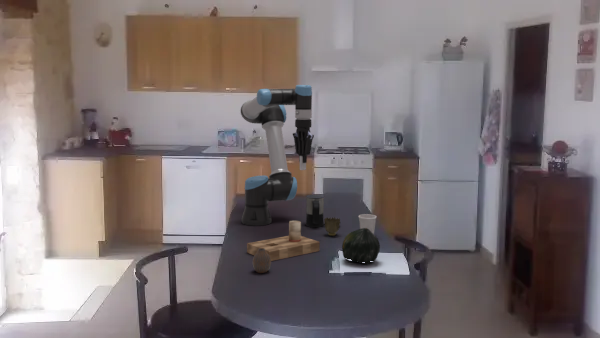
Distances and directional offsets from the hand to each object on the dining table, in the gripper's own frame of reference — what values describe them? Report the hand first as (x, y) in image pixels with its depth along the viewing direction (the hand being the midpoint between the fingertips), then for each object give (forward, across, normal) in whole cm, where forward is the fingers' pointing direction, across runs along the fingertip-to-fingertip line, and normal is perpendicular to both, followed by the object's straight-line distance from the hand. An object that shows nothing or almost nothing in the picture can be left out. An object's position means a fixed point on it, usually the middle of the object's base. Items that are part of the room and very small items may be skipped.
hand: (302, 169), depth 291 cm
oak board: (+30, +20, -26) cm, 45 cm away
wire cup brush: (+31, +11, +9) cm, 34 cm away
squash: (+31, +50, -10) cm, 60 cm away
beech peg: (+30, +20, -20) cm, 41 cm away
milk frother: (+31, -7, +19) cm, 37 cm away
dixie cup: (+31, +23, +20) cm, 43 cm away
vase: (+31, +37, -49) cm, 69 cm away
